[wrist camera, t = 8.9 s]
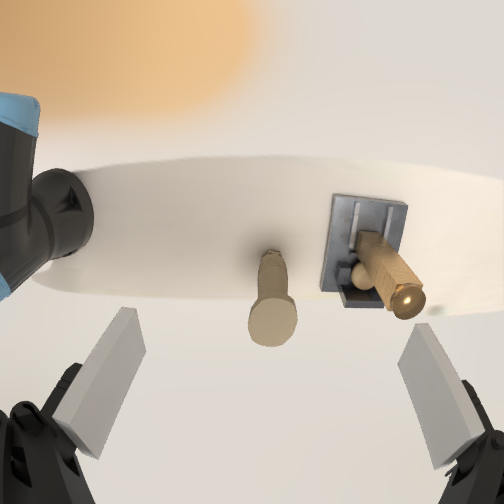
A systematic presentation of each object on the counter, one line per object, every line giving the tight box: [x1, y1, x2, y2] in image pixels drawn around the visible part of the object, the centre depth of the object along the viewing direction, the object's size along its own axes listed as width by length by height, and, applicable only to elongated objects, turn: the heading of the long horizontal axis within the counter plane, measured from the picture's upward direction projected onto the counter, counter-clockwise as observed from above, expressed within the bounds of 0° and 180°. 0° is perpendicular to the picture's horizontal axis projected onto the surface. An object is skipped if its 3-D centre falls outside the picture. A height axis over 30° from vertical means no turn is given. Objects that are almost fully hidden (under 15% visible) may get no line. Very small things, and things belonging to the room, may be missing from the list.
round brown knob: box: [351, 262, 374, 290], centre depth 39 cm, size 4×4×4 cm
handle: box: [248, 250, 297, 347], centre depth 36 cm, size 5×6×15 cm
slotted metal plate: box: [320, 194, 408, 308], centre depth 38 cm, size 11×14×6 cm
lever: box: [355, 231, 426, 320], centre depth 32 cm, size 4×4×15 cm
